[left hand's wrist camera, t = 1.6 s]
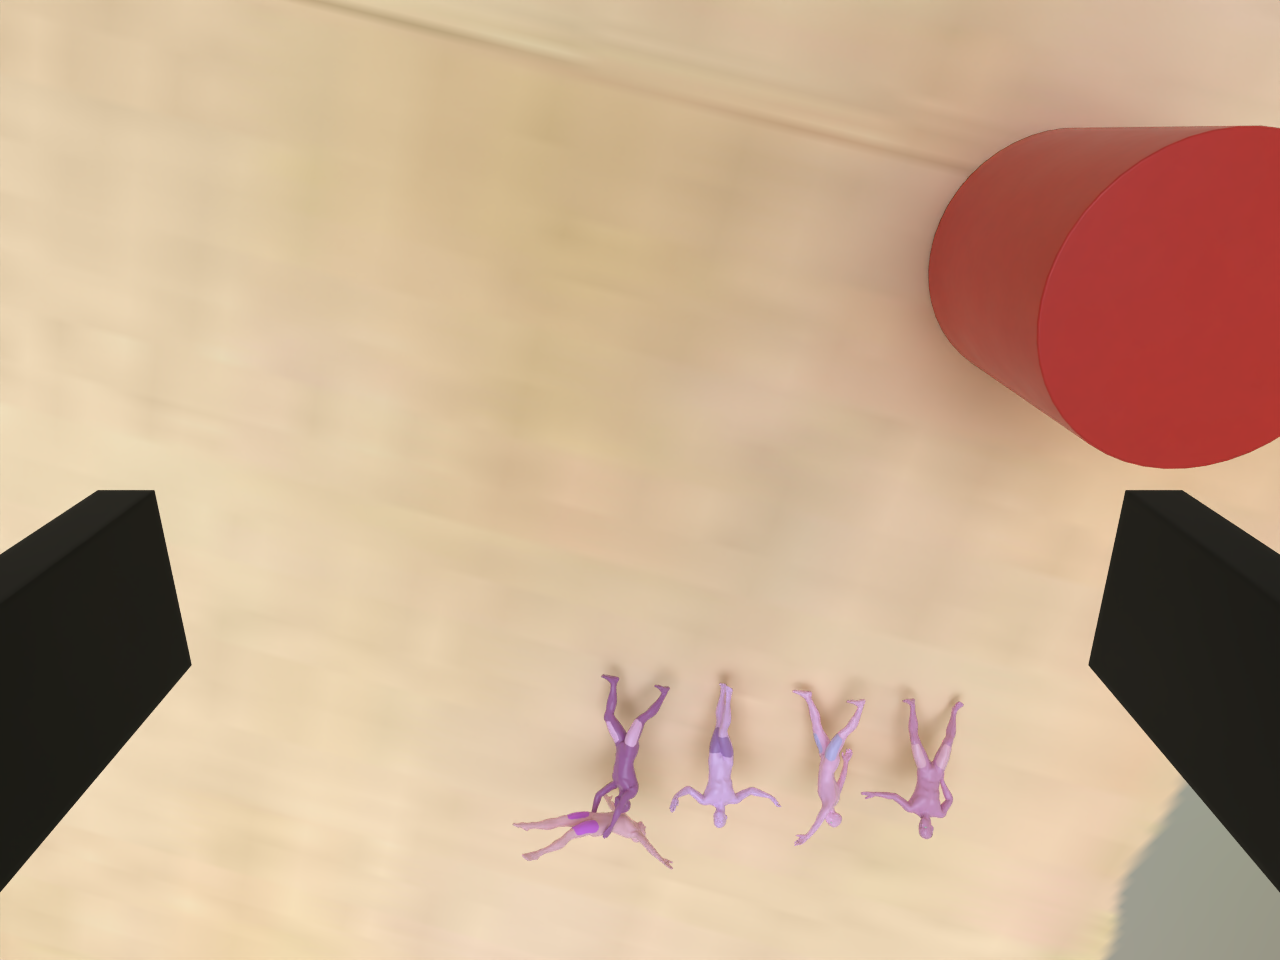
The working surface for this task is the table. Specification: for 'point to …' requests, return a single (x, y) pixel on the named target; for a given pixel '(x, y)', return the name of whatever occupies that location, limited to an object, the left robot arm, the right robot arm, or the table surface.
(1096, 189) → the canister
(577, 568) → the table surface
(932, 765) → the people figure
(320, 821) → the table surface
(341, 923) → the table surface
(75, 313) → the table surface
